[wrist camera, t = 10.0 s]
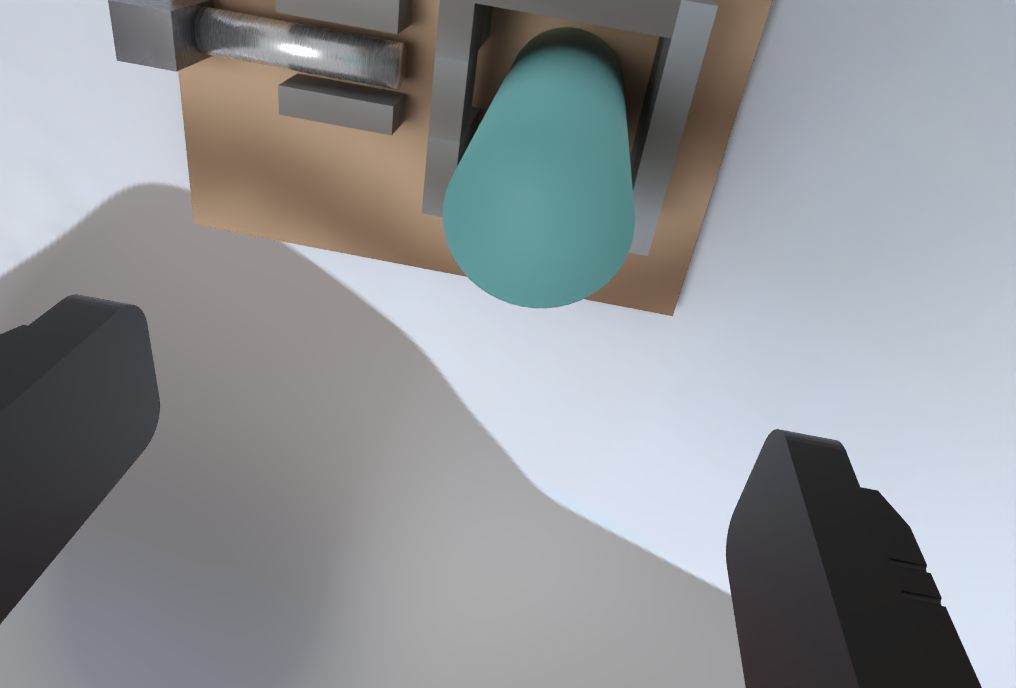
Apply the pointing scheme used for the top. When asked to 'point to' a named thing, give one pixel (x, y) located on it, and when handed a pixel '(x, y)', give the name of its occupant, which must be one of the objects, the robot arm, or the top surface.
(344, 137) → the dock
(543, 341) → the top surface
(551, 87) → the peg
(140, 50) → the lock pin
